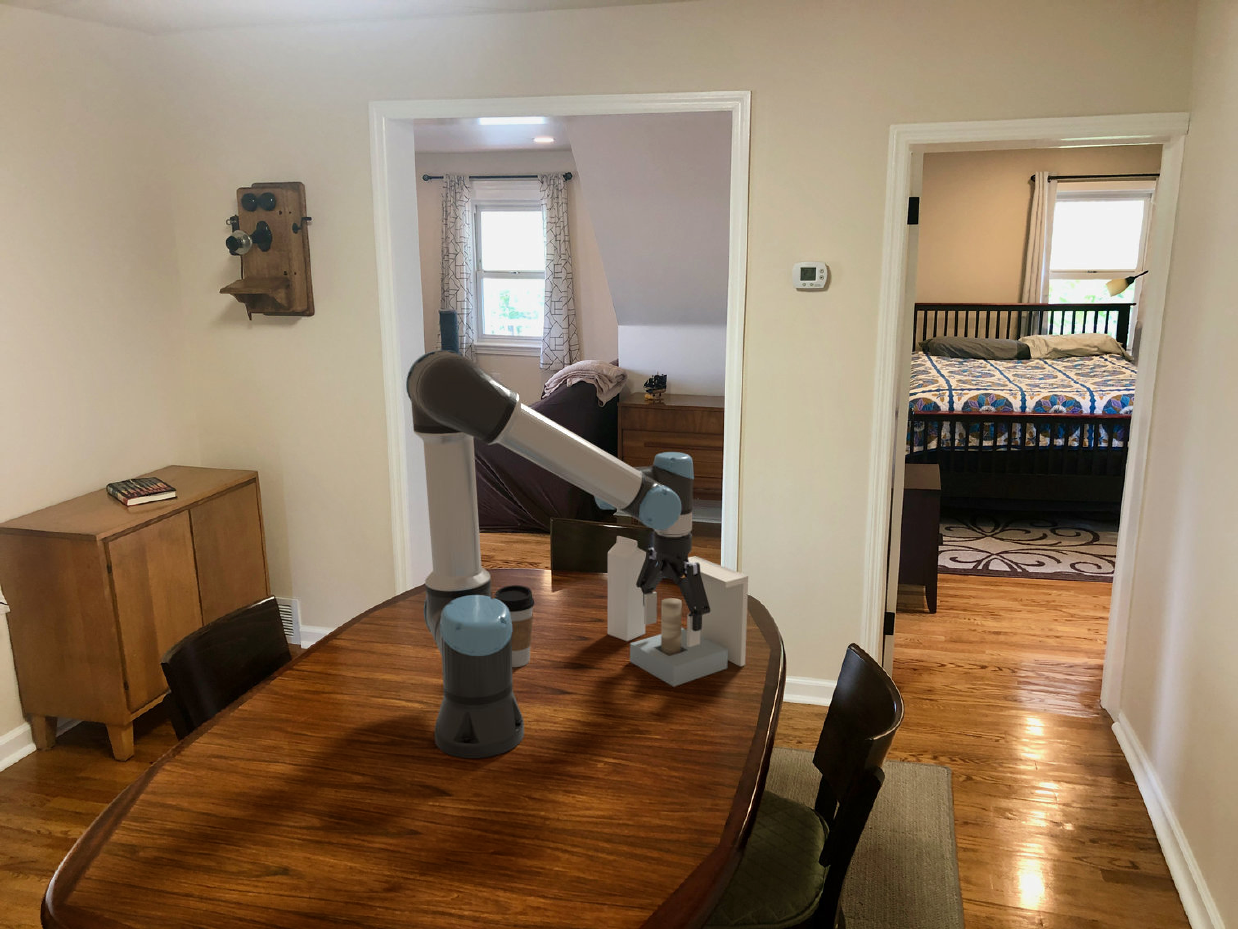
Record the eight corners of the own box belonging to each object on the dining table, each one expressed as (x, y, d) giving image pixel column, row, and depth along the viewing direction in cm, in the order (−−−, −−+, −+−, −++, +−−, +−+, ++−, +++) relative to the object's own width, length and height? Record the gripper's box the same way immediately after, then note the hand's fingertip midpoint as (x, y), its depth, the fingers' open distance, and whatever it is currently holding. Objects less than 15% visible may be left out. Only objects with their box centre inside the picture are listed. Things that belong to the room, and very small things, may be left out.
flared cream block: (723, 672, 178) (725, 582, 174) (672, 646, 190) (673, 561, 186) (745, 665, 181) (748, 576, 177) (693, 639, 194) (695, 555, 190)
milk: (627, 642, 193) (627, 544, 188) (607, 634, 197) (606, 538, 192) (645, 633, 197) (646, 538, 192) (625, 626, 201) (625, 532, 196)
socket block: (673, 686, 171) (673, 667, 171) (630, 661, 183) (630, 643, 182) (727, 668, 180) (727, 649, 179) (682, 645, 191) (682, 627, 190)
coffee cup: (539, 653, 186) (537, 585, 183) (531, 671, 178) (529, 600, 175) (499, 651, 187) (497, 584, 184) (489, 669, 179) (487, 598, 176)
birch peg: (669, 673, 177) (670, 606, 174) (656, 666, 180) (657, 600, 178) (684, 668, 179) (685, 602, 177) (672, 661, 183) (673, 596, 180)
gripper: (730, 543, 166) (727, 650, 171) (648, 515, 186) (647, 611, 190) (700, 550, 162) (698, 659, 166) (619, 520, 182) (619, 618, 186)
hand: (671, 634), depth 178 cm, fingers open, 13 cm apart
